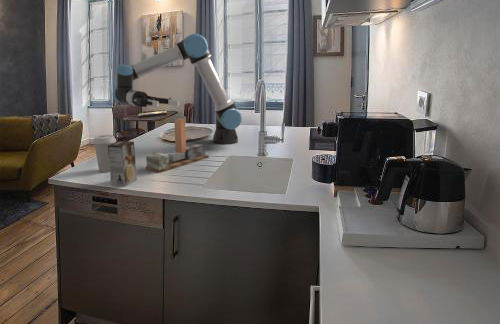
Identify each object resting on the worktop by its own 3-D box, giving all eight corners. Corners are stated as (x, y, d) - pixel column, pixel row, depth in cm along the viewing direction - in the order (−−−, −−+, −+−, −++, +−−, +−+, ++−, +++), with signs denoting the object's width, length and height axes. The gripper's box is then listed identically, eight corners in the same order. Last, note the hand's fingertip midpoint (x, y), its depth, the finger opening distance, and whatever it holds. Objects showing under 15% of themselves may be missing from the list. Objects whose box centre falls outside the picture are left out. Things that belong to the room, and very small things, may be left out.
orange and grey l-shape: (196, 152, 191) (195, 115, 186) (202, 153, 189) (201, 116, 184) (167, 160, 175) (165, 120, 170) (173, 161, 173) (172, 121, 168)
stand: (195, 155, 194) (194, 142, 193) (208, 157, 190) (208, 144, 188) (145, 169, 168) (144, 154, 166) (159, 172, 163) (158, 157, 161)
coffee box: (122, 178, 155) (119, 140, 151) (137, 179, 154) (134, 141, 149) (110, 185, 146) (107, 145, 142) (125, 186, 145) (122, 146, 141)
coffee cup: (108, 166, 172) (105, 133, 168) (123, 169, 167) (120, 136, 163) (90, 171, 164) (87, 137, 160) (105, 174, 159) (102, 140, 155)
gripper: (155, 105, 201) (185, 110, 190) (117, 106, 180) (148, 113, 169) (156, 90, 199) (186, 95, 188) (117, 90, 178) (148, 96, 167)
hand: (168, 103), depth 179 cm, fingers open, 13 cm apart
